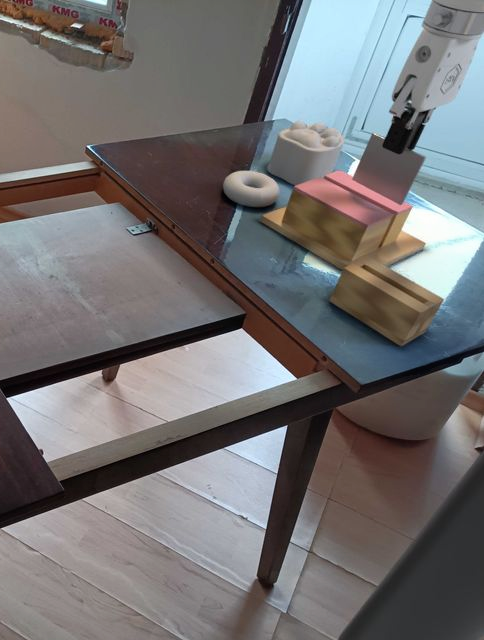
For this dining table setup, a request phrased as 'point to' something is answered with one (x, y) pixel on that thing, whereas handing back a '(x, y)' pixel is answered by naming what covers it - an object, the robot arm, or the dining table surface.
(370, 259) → the knife block
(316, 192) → the cake
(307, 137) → the lumpy-topped squat cylinder
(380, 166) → the flat grey rectangular blade
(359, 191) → the cake slice
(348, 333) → the dining table surface
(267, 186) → the donut
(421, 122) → the robot arm
